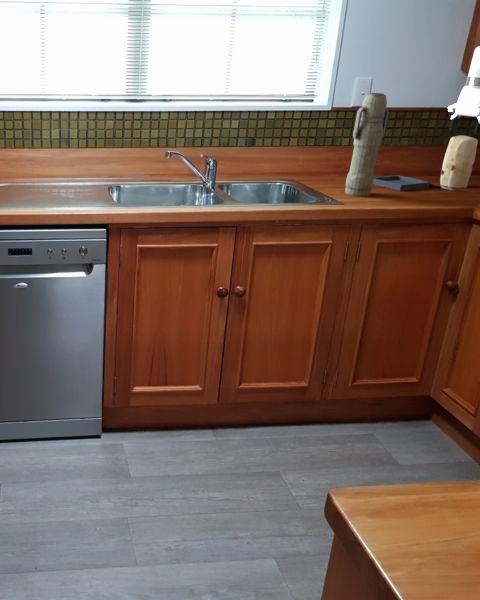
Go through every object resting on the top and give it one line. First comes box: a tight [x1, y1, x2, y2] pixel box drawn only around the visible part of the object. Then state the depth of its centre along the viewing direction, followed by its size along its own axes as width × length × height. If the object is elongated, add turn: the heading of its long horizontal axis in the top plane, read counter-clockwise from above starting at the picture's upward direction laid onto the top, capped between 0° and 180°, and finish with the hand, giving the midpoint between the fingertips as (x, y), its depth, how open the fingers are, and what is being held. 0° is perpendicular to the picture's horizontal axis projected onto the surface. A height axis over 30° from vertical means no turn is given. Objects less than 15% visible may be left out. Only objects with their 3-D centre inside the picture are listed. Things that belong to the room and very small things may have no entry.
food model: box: [439, 135, 479, 192], centre depth 227 cm, size 10×7×20 cm
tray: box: [372, 174, 431, 192], centre depth 237 cm, size 15×16×2 cm
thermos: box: [344, 92, 390, 198], centre depth 216 cm, size 9×12×35 cm
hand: (464, 132), depth 223 cm, fingers open, 9 cm apart
